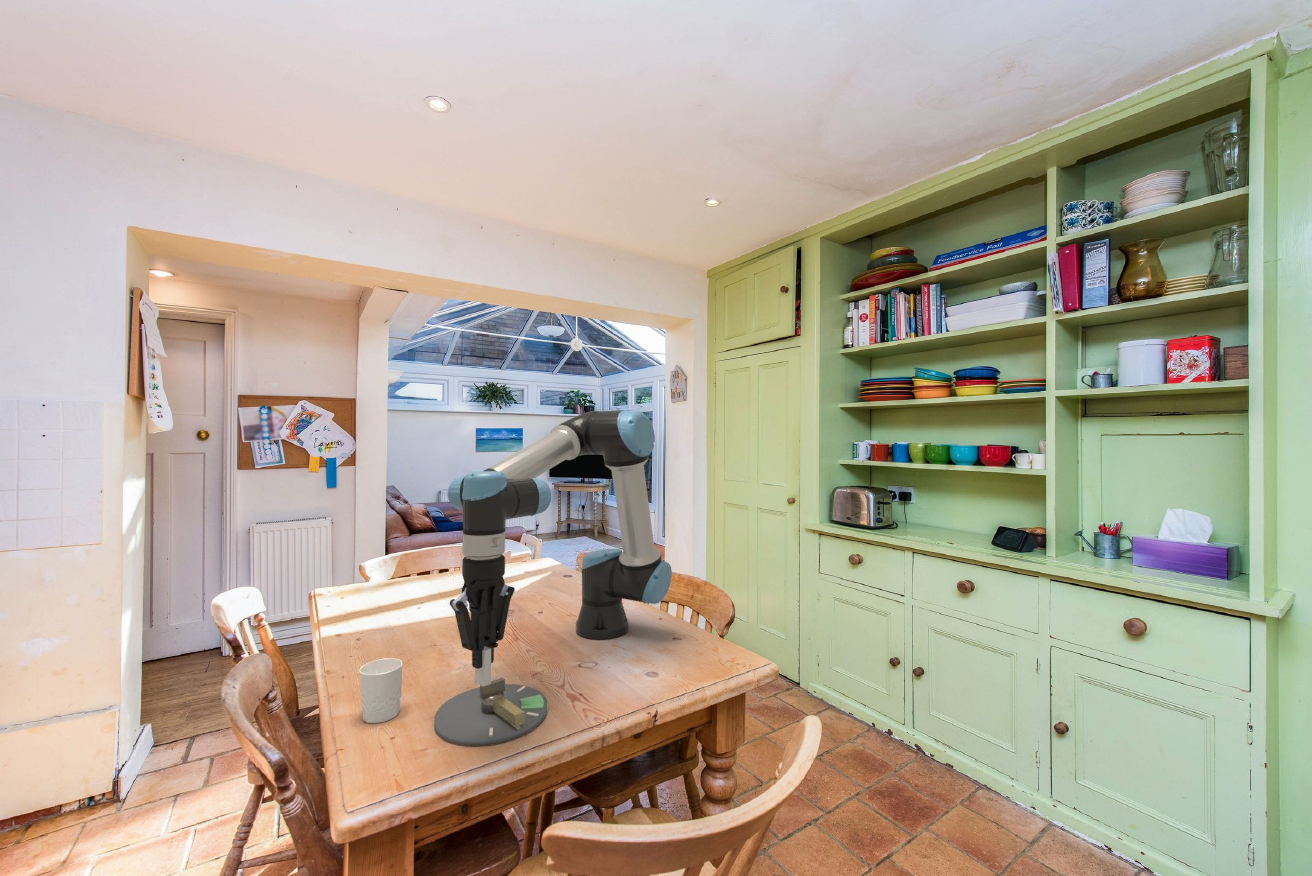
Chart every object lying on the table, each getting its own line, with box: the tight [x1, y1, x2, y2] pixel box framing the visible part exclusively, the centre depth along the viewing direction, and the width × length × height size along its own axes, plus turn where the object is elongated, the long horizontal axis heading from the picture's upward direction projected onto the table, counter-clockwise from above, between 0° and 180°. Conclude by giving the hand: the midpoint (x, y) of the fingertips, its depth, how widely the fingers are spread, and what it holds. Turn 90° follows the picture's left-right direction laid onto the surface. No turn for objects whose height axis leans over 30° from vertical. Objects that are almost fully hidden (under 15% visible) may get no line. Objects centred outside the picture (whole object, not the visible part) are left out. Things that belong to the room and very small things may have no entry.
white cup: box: [358, 657, 403, 724], centre depth 110 cm, size 8×8×10 cm
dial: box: [433, 683, 548, 747], centre depth 110 cm, size 22×22×2 cm
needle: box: [479, 677, 525, 727], centre depth 107 cm, size 13×5×5 cm, turn 45°
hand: (482, 682), depth 100 cm, fingers closed
